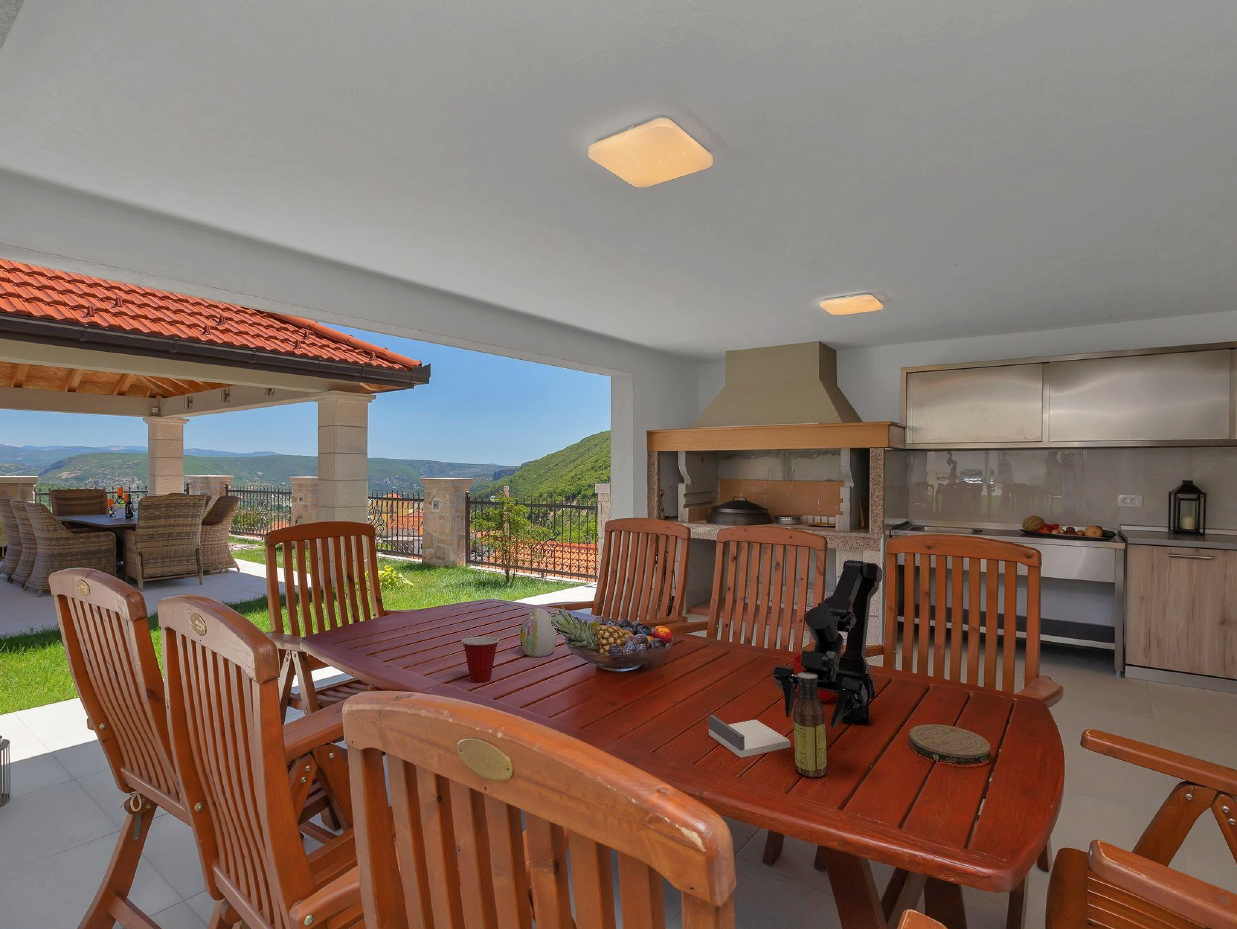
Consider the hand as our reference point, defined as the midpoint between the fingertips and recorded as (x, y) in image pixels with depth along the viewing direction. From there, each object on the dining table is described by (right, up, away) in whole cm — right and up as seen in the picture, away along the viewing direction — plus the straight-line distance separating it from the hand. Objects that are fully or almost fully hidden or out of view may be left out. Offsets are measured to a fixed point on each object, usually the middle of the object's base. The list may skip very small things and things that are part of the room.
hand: (809, 722), depth 133 cm
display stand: (-9, -10, +15) cm, 21 cm away
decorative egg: (-65, -11, +84) cm, 107 cm away
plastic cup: (-79, -11, +58) cm, 98 cm away
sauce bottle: (0, -10, 0) cm, 10 cm away
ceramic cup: (+17, -10, +42) cm, 47 cm away
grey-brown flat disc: (+33, -11, +10) cm, 36 cm away
